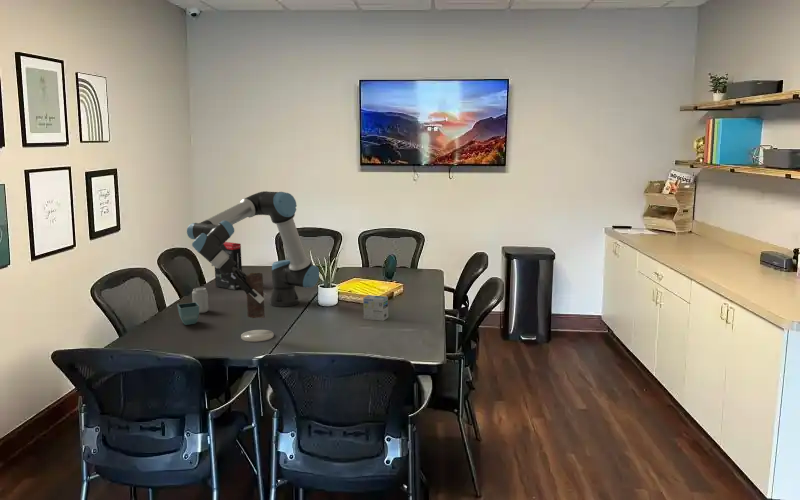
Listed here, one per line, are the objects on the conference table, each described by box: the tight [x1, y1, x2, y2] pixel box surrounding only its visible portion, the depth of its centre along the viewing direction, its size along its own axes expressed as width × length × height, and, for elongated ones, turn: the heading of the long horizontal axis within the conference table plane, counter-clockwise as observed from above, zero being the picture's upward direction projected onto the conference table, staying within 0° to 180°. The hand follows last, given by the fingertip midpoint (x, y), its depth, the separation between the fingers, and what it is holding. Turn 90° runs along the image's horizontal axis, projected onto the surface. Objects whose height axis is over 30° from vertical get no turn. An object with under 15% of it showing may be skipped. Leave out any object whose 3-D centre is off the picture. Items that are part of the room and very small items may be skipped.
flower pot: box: [176, 301, 200, 326], centre depth 309 cm, size 9×9×9 cm
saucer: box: [240, 329, 275, 343], centre depth 288 cm, size 14×14×1 cm
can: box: [191, 287, 209, 314], centre depth 331 cm, size 8×8×12 cm
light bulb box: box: [362, 294, 389, 322], centre depth 316 cm, size 11×7×11 cm, turn 71°
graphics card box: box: [214, 241, 243, 291], centre depth 383 cm, size 17×7×27 cm, turn 58°
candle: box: [246, 272, 265, 319], centre depth 285 cm, size 8×7×20 cm
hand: (263, 298), depth 285 cm, fingers closed on candle, 7 cm apart
